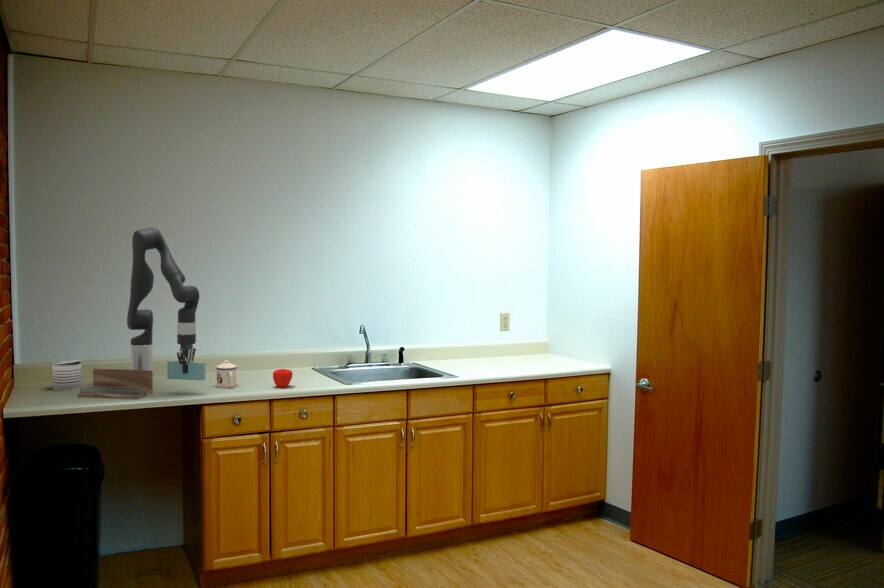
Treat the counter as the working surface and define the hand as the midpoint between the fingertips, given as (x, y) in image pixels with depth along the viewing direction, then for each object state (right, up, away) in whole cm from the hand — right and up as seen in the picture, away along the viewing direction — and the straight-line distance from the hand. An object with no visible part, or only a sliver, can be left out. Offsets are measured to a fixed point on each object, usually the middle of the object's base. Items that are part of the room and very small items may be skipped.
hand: (186, 372), depth 301 cm
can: (-54, -8, +5) cm, 55 cm away
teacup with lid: (+12, -8, +17) cm, 23 cm away
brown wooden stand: (-27, -9, -7) cm, 29 cm away
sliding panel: (0, -3, 0) cm, 3 cm away
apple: (+37, -9, +19) cm, 43 cm away
